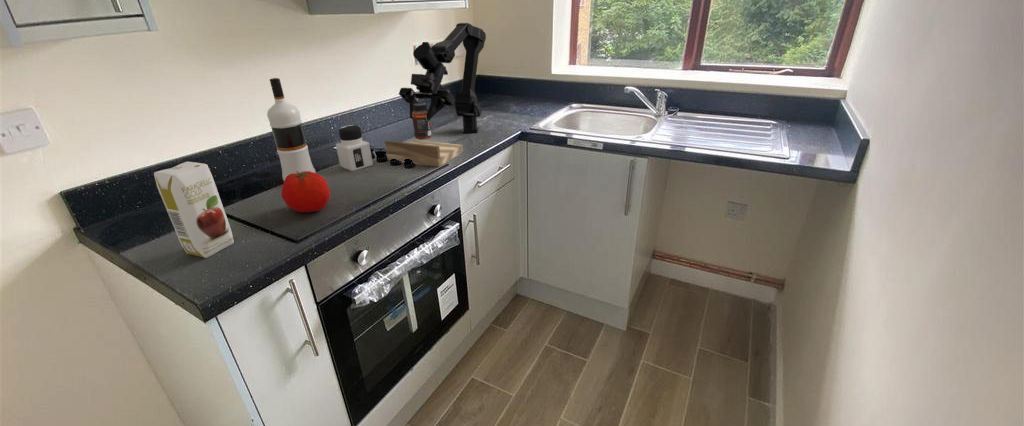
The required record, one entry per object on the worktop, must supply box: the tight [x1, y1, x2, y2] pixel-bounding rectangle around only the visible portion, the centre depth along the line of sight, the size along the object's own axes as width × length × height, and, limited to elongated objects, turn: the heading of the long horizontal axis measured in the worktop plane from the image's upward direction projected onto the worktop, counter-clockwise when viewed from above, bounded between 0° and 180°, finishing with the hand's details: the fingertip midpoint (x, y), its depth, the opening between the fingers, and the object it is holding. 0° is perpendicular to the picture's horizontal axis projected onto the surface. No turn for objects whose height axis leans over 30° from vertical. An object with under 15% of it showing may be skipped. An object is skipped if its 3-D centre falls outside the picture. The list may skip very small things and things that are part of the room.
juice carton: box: [153, 161, 235, 259], centre depth 94 cm, size 8×9×19 cm
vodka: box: [266, 77, 317, 182], centre depth 128 cm, size 9×9×30 cm
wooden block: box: [384, 139, 464, 168], centre depth 150 cm, size 16×20×6 cm
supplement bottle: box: [411, 102, 433, 141], centre depth 146 cm, size 6×6×11 cm
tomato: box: [280, 170, 331, 213], centre depth 113 cm, size 11×13×10 cm
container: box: [335, 124, 374, 172], centre depth 142 cm, size 8×8×13 cm
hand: (419, 118), depth 145 cm, fingers closed on supplement bottle, 6 cm apart
